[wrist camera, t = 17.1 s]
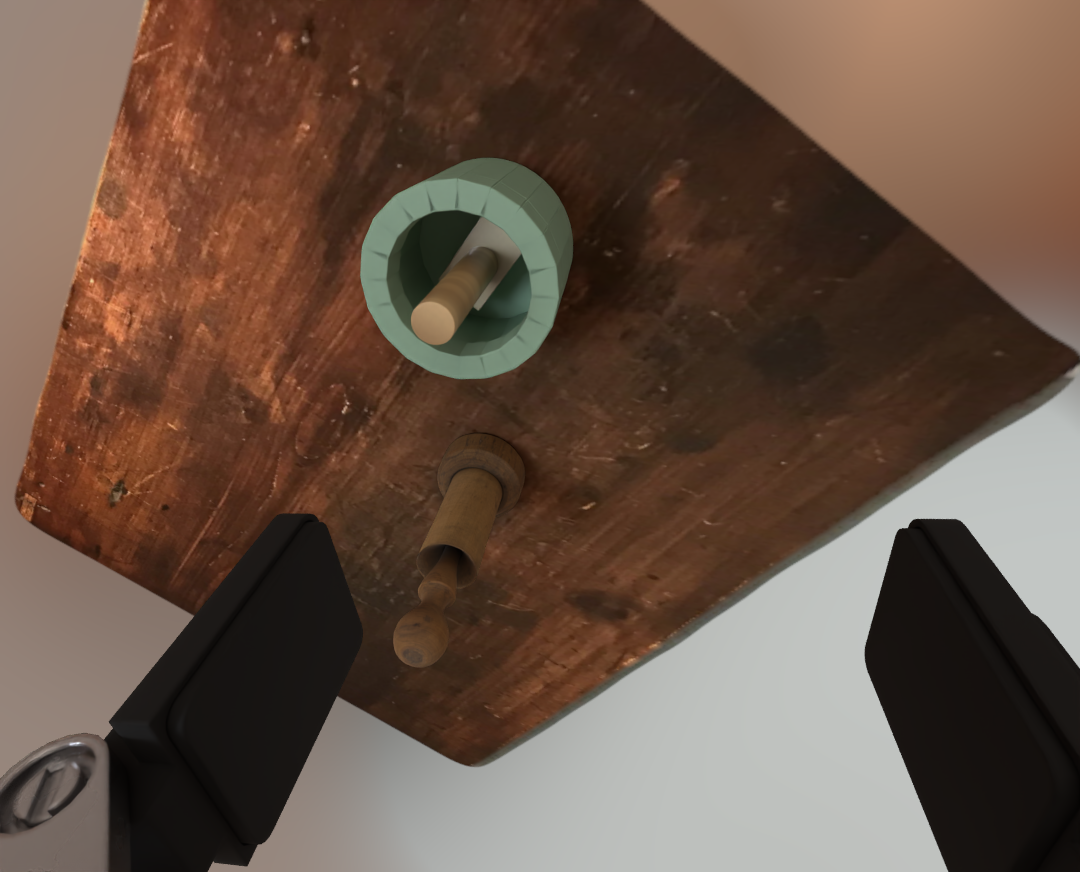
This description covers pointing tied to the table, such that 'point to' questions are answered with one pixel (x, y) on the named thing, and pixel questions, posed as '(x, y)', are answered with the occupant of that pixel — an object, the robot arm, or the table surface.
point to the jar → (433, 240)
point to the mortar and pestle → (458, 537)
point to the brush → (465, 282)
